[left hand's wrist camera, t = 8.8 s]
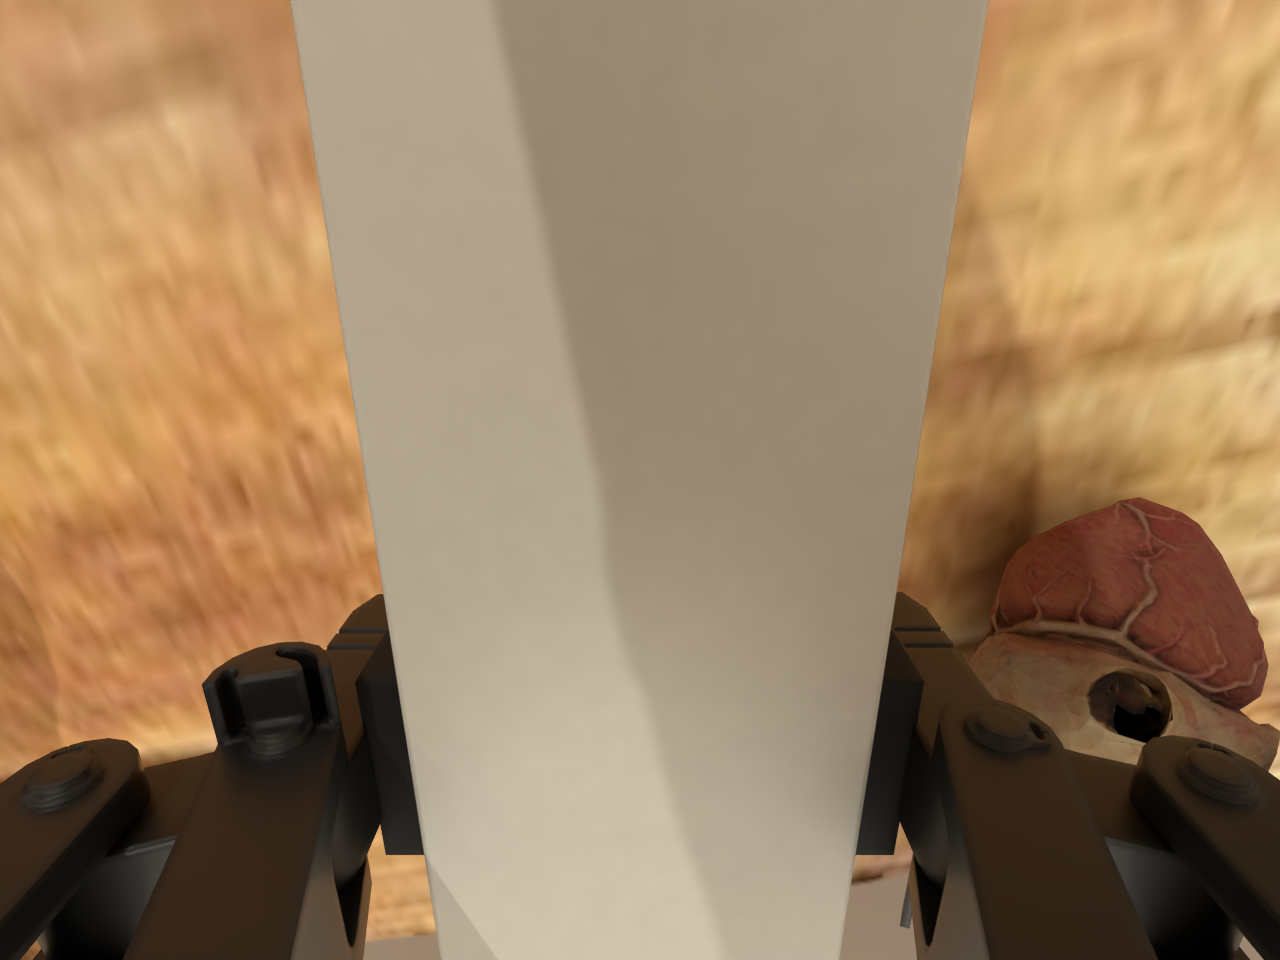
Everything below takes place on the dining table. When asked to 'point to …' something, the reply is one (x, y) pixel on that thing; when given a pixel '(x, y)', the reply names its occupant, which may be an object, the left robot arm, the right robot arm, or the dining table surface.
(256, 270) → the dining table surface
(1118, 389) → the dining table surface
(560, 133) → the bar
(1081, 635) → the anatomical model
